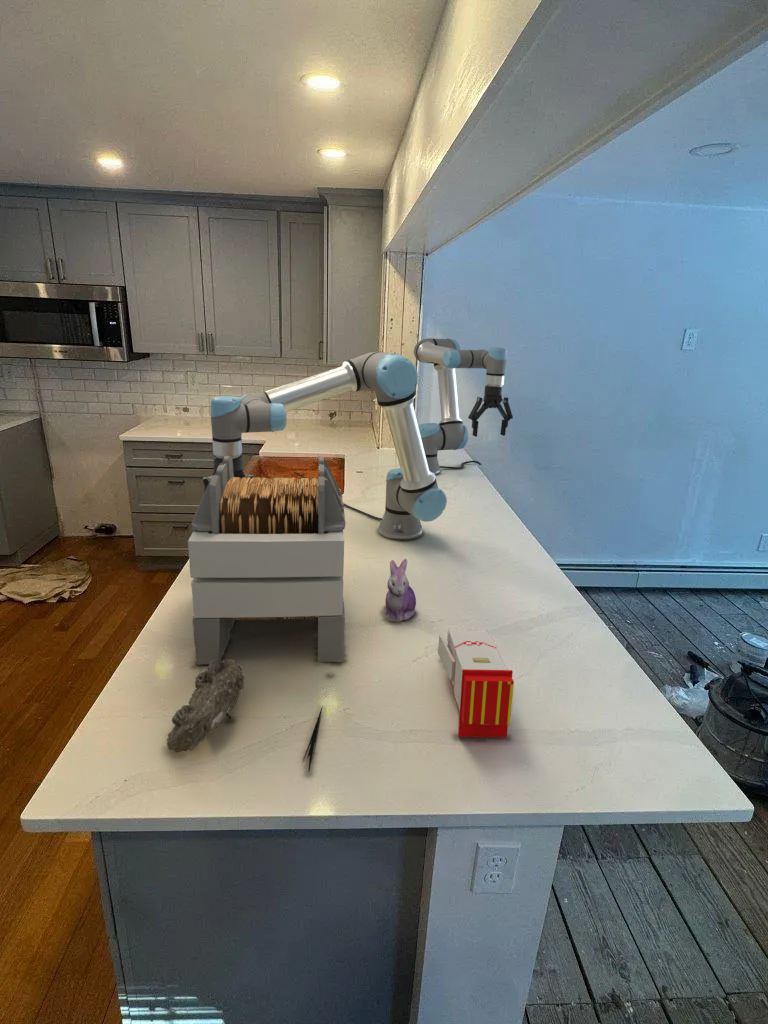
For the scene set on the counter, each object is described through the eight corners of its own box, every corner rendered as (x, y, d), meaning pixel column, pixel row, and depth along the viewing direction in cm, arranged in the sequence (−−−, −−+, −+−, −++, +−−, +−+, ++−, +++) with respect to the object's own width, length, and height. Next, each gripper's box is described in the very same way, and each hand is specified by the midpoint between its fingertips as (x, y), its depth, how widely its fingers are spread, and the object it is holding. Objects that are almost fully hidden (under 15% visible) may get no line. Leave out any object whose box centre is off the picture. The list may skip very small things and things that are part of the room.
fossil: (192, 660, 117) (244, 628, 112) (224, 691, 120) (276, 661, 115) (142, 746, 98) (202, 712, 93) (182, 779, 101) (242, 748, 96)
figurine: (392, 627, 141) (395, 572, 136) (374, 608, 149) (376, 556, 144) (425, 619, 145) (429, 566, 140) (405, 601, 154) (408, 550, 149)
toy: (488, 613, 130) (523, 677, 101) (484, 667, 133) (517, 744, 104) (435, 612, 130) (455, 676, 101) (432, 666, 133) (451, 743, 103)
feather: (331, 679, 122) (336, 673, 122) (307, 777, 96) (313, 769, 95) (324, 675, 122) (329, 669, 121) (298, 772, 95) (304, 764, 95)
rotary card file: (219, 592, 154) (209, 445, 140) (339, 591, 158) (342, 448, 144) (193, 667, 122) (178, 487, 108) (344, 663, 126) (348, 488, 112)
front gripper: (263, 450, 158) (265, 527, 166) (188, 453, 152) (193, 532, 160) (267, 457, 152) (269, 536, 159) (188, 460, 145) (194, 542, 153)
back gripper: (515, 384, 244) (509, 432, 252) (463, 384, 237) (458, 434, 244) (524, 386, 238) (518, 436, 245) (471, 386, 230) (466, 438, 237)
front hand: (231, 534), depth 160 cm, fingers closed on small box, 7 cm apart
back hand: (488, 435), depth 244 cm, fingers open, 13 cm apart
